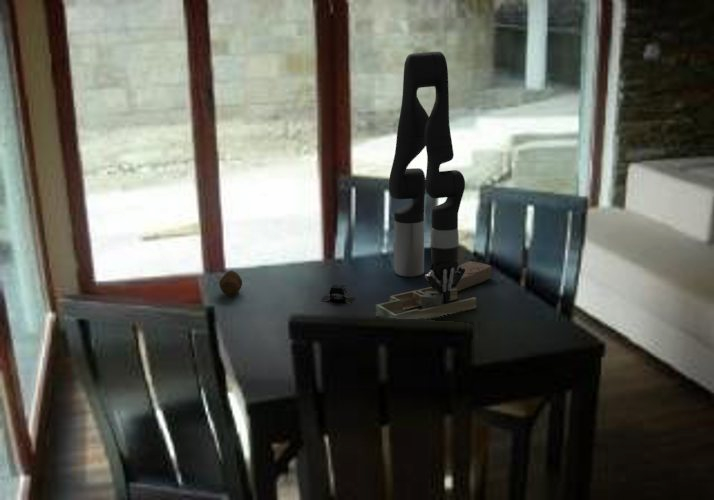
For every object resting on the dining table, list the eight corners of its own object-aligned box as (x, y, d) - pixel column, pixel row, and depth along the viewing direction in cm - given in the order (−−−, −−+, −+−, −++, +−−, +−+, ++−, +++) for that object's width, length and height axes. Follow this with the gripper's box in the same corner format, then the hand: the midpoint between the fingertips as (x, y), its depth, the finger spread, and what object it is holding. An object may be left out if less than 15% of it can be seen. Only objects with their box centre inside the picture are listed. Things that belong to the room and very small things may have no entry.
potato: (219, 301, 239) (218, 279, 237) (220, 289, 250) (218, 267, 248) (243, 300, 240) (241, 277, 238) (242, 287, 251) (241, 265, 249)
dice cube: (443, 309, 229) (443, 292, 228) (439, 315, 225) (439, 298, 223) (426, 307, 231) (426, 290, 229) (421, 313, 226) (421, 296, 225)
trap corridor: (366, 311, 229) (366, 299, 228) (445, 293, 242) (445, 282, 241) (394, 327, 217) (394, 315, 216) (476, 308, 230) (476, 296, 229)
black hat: (362, 298, 241) (361, 283, 239) (355, 307, 234) (355, 292, 233) (321, 295, 244) (321, 281, 243) (313, 304, 237) (313, 289, 236)
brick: (456, 293, 243) (457, 278, 242) (435, 286, 249) (435, 272, 247) (492, 279, 254) (492, 265, 252) (470, 273, 260) (471, 259, 258)
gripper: (455, 236, 231) (455, 294, 236) (416, 244, 224) (417, 303, 229) (472, 242, 225) (471, 302, 230) (432, 250, 218) (432, 312, 223)
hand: (444, 303), depth 229 cm, fingers closed
